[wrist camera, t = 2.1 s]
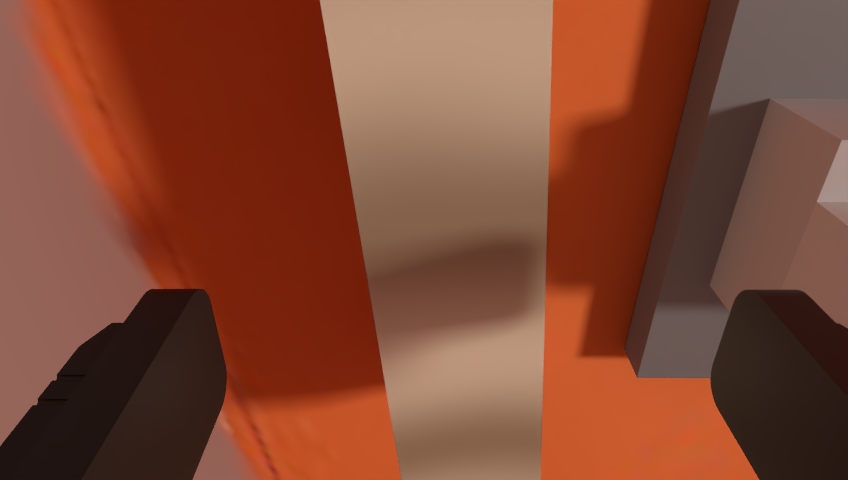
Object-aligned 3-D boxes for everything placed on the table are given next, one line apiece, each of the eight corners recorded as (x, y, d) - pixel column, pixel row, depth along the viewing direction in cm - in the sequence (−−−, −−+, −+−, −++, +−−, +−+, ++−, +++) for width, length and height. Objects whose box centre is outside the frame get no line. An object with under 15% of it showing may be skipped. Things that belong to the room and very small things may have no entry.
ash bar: (324, -345, 12) (219, -594, 6) (496, -367, 12) (569, -647, 6) (415, 364, 22) (411, 538, 16) (508, 359, 22) (539, 532, 16)
